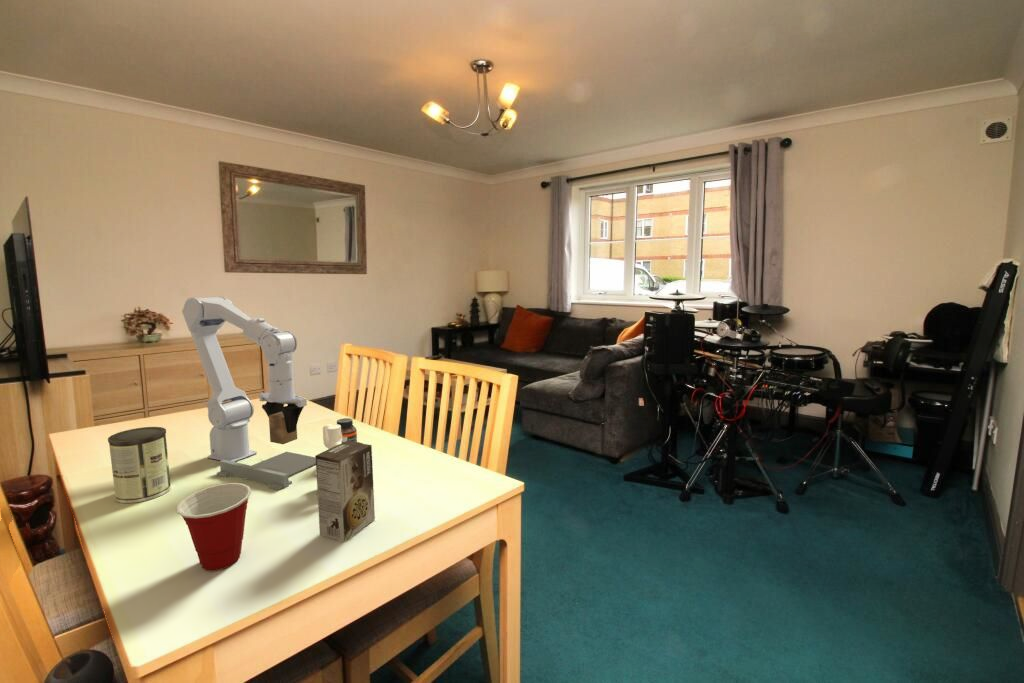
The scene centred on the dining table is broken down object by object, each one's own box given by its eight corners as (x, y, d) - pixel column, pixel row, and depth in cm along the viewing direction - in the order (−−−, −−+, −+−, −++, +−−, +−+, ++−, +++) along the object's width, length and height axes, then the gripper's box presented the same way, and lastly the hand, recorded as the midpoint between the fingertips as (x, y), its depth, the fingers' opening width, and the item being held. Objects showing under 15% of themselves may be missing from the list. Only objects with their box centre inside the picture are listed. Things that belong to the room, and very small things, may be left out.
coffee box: (350, 514, 100) (347, 439, 98) (375, 520, 98) (373, 443, 95) (317, 535, 92) (313, 454, 90) (344, 542, 89) (340, 459, 87)
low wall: (215, 474, 119) (214, 463, 119) (230, 469, 123) (229, 457, 123) (279, 490, 111) (278, 478, 110) (293, 483, 114) (292, 471, 114)
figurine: (329, 499, 106) (326, 434, 105) (313, 485, 113) (310, 424, 111) (360, 490, 111) (358, 427, 109) (343, 477, 118) (341, 418, 116)
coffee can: (131, 485, 113) (126, 427, 111) (180, 482, 115) (175, 425, 113) (103, 505, 103) (95, 442, 101) (156, 501, 105) (150, 439, 103)
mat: (248, 468, 123) (248, 466, 123) (286, 453, 134) (286, 451, 134) (288, 477, 118) (288, 475, 118) (324, 461, 129) (324, 459, 129)
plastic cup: (166, 572, 80) (160, 504, 78) (225, 539, 90) (221, 479, 88) (213, 587, 76) (207, 516, 74) (269, 551, 86) (265, 488, 84)
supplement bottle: (350, 465, 126) (348, 424, 124) (329, 464, 127) (327, 422, 125) (361, 457, 131) (360, 417, 130) (342, 455, 133) (340, 416, 131)
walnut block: (270, 441, 123) (268, 415, 122) (284, 436, 127) (283, 411, 127) (283, 444, 122) (281, 417, 121) (297, 439, 126) (295, 413, 125)
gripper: (247, 379, 122) (251, 431, 124) (289, 385, 116) (292, 439, 118) (271, 374, 128) (274, 423, 130) (312, 379, 123) (314, 430, 124)
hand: (284, 430), depth 124 cm, fingers closed on walnut block, 4 cm apart
